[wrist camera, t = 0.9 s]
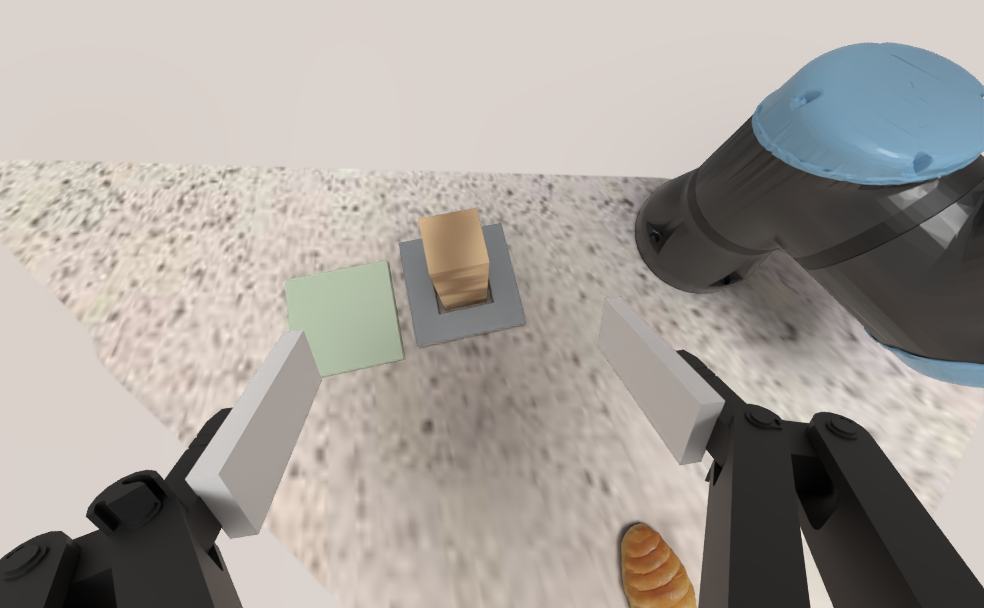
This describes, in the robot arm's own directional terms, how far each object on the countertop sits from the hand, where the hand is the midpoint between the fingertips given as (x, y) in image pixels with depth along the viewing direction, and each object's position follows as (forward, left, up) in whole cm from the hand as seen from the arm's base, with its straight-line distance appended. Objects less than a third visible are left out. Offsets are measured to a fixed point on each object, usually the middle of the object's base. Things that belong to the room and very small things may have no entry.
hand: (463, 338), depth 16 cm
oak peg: (+7, -7, -25) cm, 27 cm away
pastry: (-27, +8, -26) cm, 38 cm away
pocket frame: (+7, -7, -25) cm, 27 cm away
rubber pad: (+16, +4, -25) cm, 30 cm away
